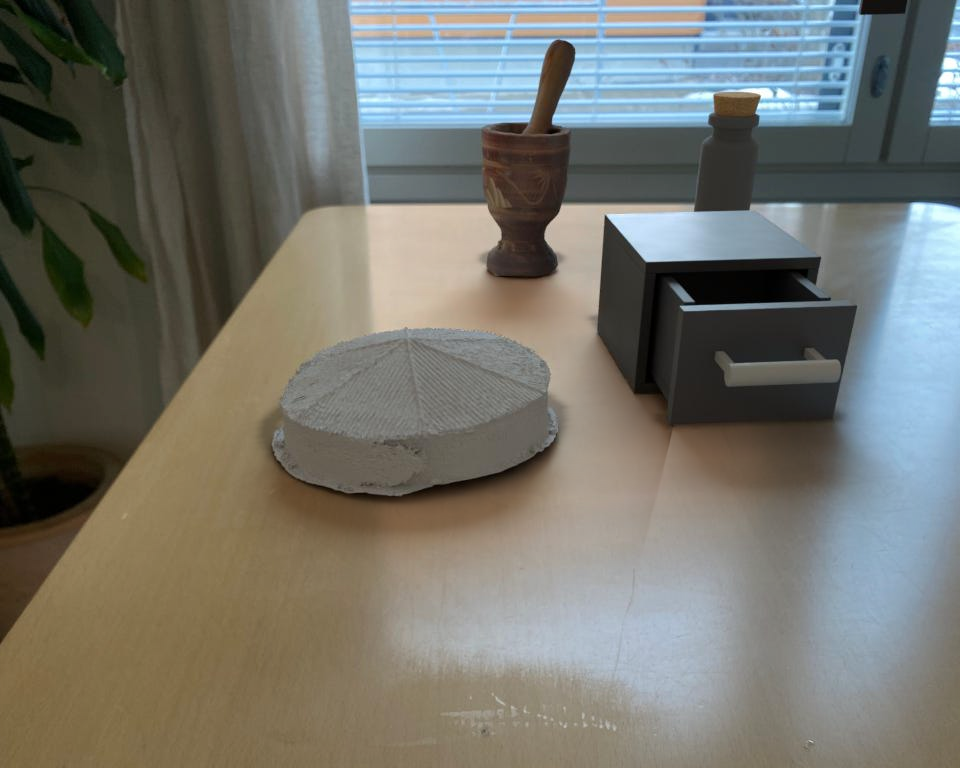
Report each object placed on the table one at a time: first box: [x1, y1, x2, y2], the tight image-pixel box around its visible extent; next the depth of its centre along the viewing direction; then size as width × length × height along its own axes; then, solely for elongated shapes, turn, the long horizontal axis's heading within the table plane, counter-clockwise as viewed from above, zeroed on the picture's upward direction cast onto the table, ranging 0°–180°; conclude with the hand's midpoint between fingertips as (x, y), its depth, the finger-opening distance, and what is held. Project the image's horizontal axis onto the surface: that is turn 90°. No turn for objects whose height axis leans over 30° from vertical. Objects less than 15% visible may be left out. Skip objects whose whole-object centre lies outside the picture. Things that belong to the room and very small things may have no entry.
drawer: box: [647, 269, 858, 428], centre depth 68 cm, size 18×11×8 cm, turn 5°
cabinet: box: [596, 209, 822, 395], centre depth 77 cm, size 15×13×10 cm
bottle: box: [693, 91, 762, 212], centre depth 103 cm, size 6×6×15 cm
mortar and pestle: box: [480, 38, 577, 277], centre depth 97 cm, size 12×9×20 cm
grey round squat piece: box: [271, 326, 559, 497], centre depth 66 cm, size 20×20×7 cm
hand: (862, 1), depth 67 cm, fingers open, 13 cm apart
